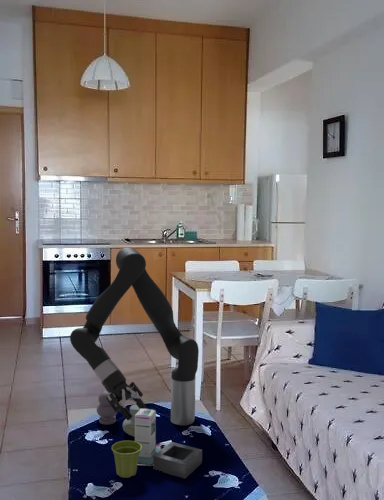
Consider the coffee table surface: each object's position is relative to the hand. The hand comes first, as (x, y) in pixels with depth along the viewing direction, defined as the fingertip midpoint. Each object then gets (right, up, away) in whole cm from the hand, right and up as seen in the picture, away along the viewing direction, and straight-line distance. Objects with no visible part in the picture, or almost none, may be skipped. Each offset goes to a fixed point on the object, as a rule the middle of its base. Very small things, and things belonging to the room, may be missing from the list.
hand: (137, 414), depth 182 cm
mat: (+3, -14, 0) cm, 14 cm away
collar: (+14, -15, -7) cm, 21 cm away
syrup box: (+3, -13, 0) cm, 14 cm away
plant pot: (-2, -15, -12) cm, 20 cm away
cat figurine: (-14, -11, +27) cm, 32 cm away
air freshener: (-2, -12, +17) cm, 21 cm away
